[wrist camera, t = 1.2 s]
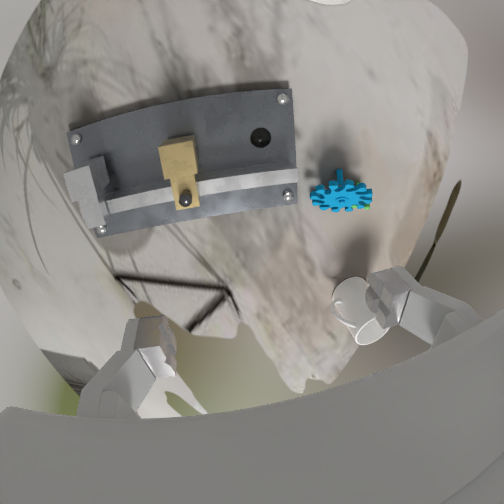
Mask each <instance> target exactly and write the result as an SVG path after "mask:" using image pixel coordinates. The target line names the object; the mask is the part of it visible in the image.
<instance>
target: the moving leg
mask: <svg viewBox="0 0 504 504" xmlns="http://www.w3.org/2000/svg"><path fill="white" fill-rule="evenodd" d="M158 150H159V155H160V160H161V165H162V170H163V175H164V180H165V179H170V182H171V187H172V192H173V197H174V201H175V206H176V210H182V209H187V208H193V207H199V206H200V198H199V192H198V187H197V181H196V175H195V174H197V173H198V164H199V162H198V156H197V149H196V143H195V136H194V135H188V136H183V137H178V138H173V139H168V140H164V141H163V142H162V143H161V145H160V146H159V147H158Z"/></svg>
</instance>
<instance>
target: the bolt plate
mask: <svg viewBox="0 0 504 504" xmlns="http://www.w3.org/2000/svg"><path fill="white" fill-rule="evenodd" d="M188 135H194V136H195V143H196V149H197V156H198V162H199V164H198V173H197V174H199V173H205V172H211V171H217V170H224V169H231V168H238V167H245V166H253V165H261V164H270V163H279V162H289V161H290V162H291V163H292V164H293V165H294V166H296V150H295V131H294V114H293V99H292V89H270V90H255V91H243V92H233V93H224V94H216V95H209V96H203V97H196V98H190V99H185V100H179V101H174V102H169V103H165V104H160V105H155V106H151V107H147V108H143V109H139V110H135V111H131V112H128V113H124V114H121V115H117V116H114V117H110V118H107V119H104V120H101V121H98V122H95V123H92V124H89V125H86V126H83V127H81V128H78V129H75V130H73V131H70V132H67V136H68V141H69V146H70V150H71V154H72V158H73V162H74V166H76V165H77V164H79V163H81V162H84V161H87V160H90V159H93V158H97V157H100V156H104V160H105V164H106V168H107V172H108V176H109V180H110V182H109V183H108V184H107V185H106V187H105V188H104V189H103V190H102V194H105V193H109V192H113V191H117V190H121V189H126V188H130V187H134V186H138V185H143V184H147V183H152V182H157V181H162V180H164V175H163V170H162V165H161V160H160V155H159V150H158V147H159V146H160V145H161V143H162V142H163V141H164V140H168V139H173V138H178V137H183V136H188ZM165 180H167V179H165ZM199 198H200V206H199V207H193V208H187V209H182V210H176V206H175V201H169V202H164V203H159V204H154V205H149V206H144V207H139V208H135V209H130V210H126V211H121V212H117V213H112V214H109V217H110V219H109V221H108V222H107V224H106V225H103V226H99V227H94V231H95V234H96V236H97V238H100V237H105V236H109V235H114V234H119V233H124V232H129V231H134V230H139V229H144V228H149V227H154V226H159V225H165V224H170V223H176V222H181V221H187V220H192V219H198V218H204V217H210V216H216V215H222V214H229V213H235V212H241V211H248V210H255V209H262V208H269V207H276V206H283V205H290V204H297V182H295V183H286V184H278V185H270V186H262V187H255V188H248V189H241V190H234V191H227V192H221V193H215V194H208V195H203V196H199Z"/></svg>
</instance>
